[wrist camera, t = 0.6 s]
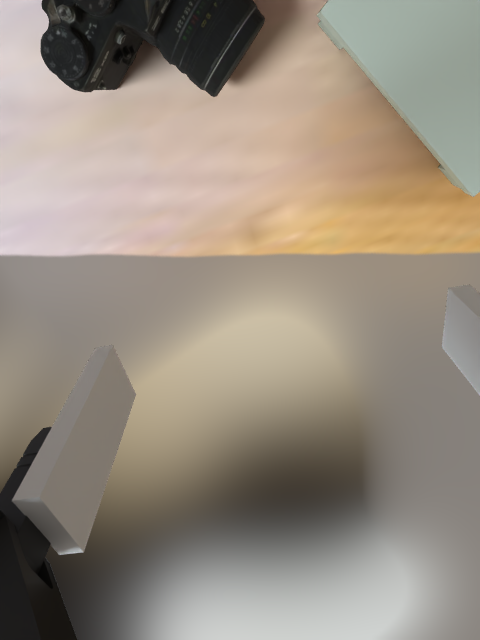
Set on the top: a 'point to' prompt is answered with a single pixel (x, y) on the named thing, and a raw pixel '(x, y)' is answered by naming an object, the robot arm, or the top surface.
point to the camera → (147, 38)
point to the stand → (421, 70)
